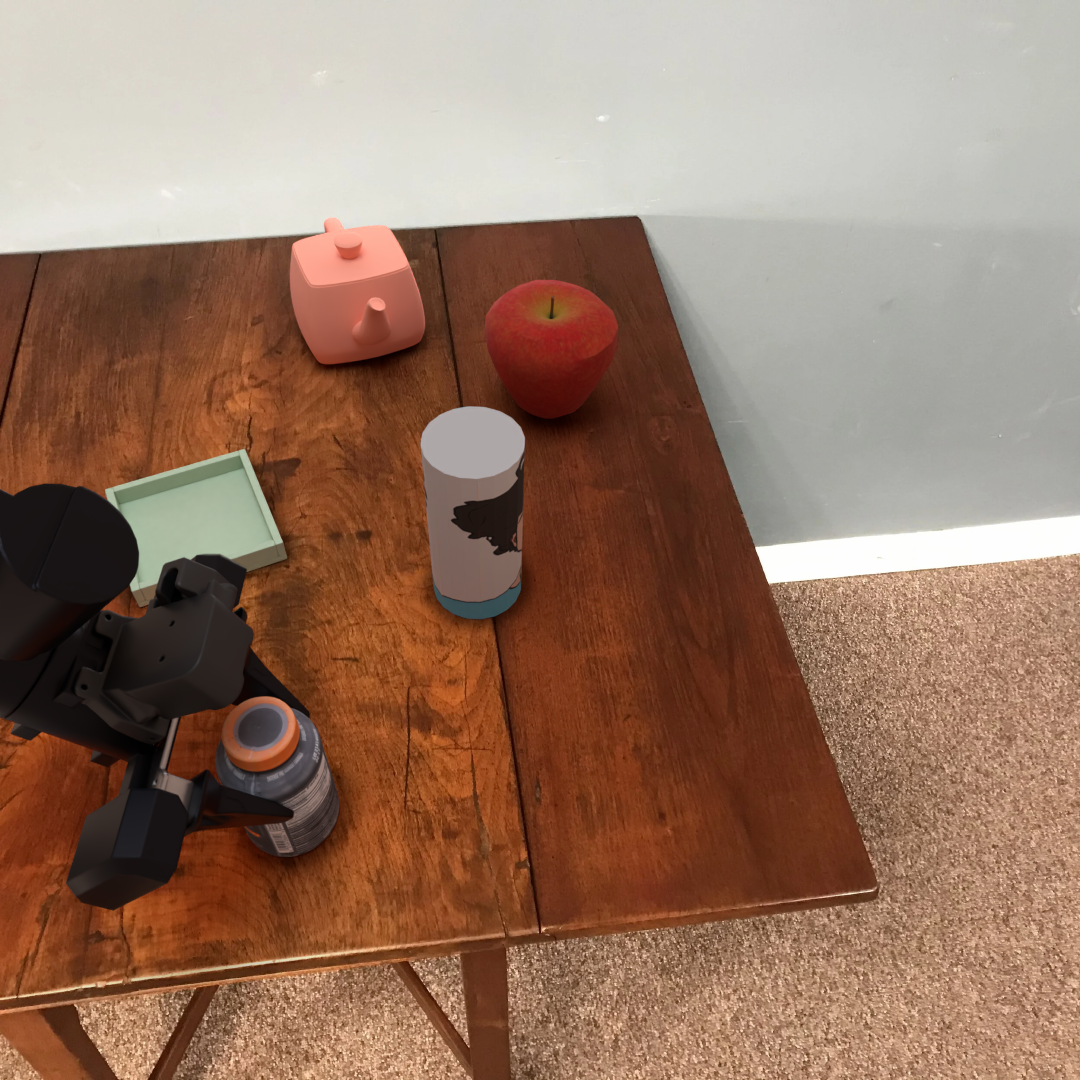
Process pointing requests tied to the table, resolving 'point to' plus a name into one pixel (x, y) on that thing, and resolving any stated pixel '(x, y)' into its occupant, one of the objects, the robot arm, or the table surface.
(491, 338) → the apple
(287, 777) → the pill bottle
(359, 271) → the teapot
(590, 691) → the table surface
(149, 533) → the dish
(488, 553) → the white cylindrical canister
